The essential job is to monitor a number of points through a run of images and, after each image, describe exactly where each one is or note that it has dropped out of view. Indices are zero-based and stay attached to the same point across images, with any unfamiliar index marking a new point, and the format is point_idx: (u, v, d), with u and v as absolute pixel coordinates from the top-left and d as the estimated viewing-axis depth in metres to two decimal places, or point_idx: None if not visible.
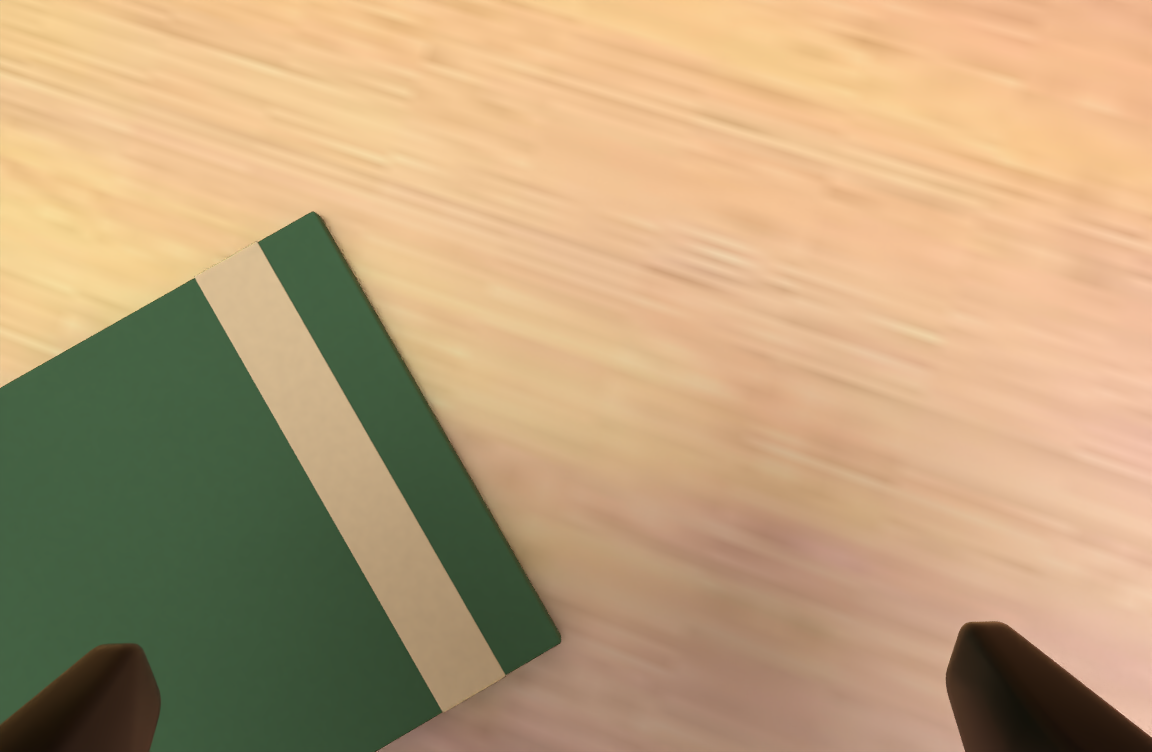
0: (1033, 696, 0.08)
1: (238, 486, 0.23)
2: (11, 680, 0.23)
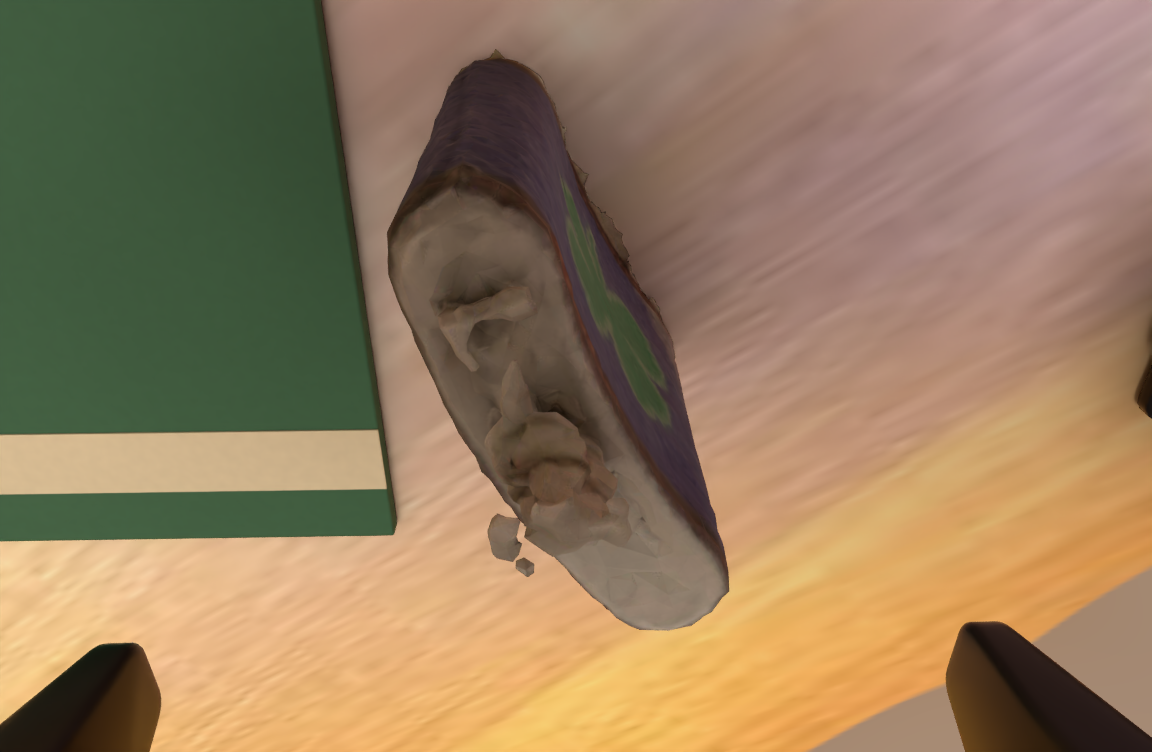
0: (1033, 696, 0.08)
1: None
2: (96, 348, 0.21)
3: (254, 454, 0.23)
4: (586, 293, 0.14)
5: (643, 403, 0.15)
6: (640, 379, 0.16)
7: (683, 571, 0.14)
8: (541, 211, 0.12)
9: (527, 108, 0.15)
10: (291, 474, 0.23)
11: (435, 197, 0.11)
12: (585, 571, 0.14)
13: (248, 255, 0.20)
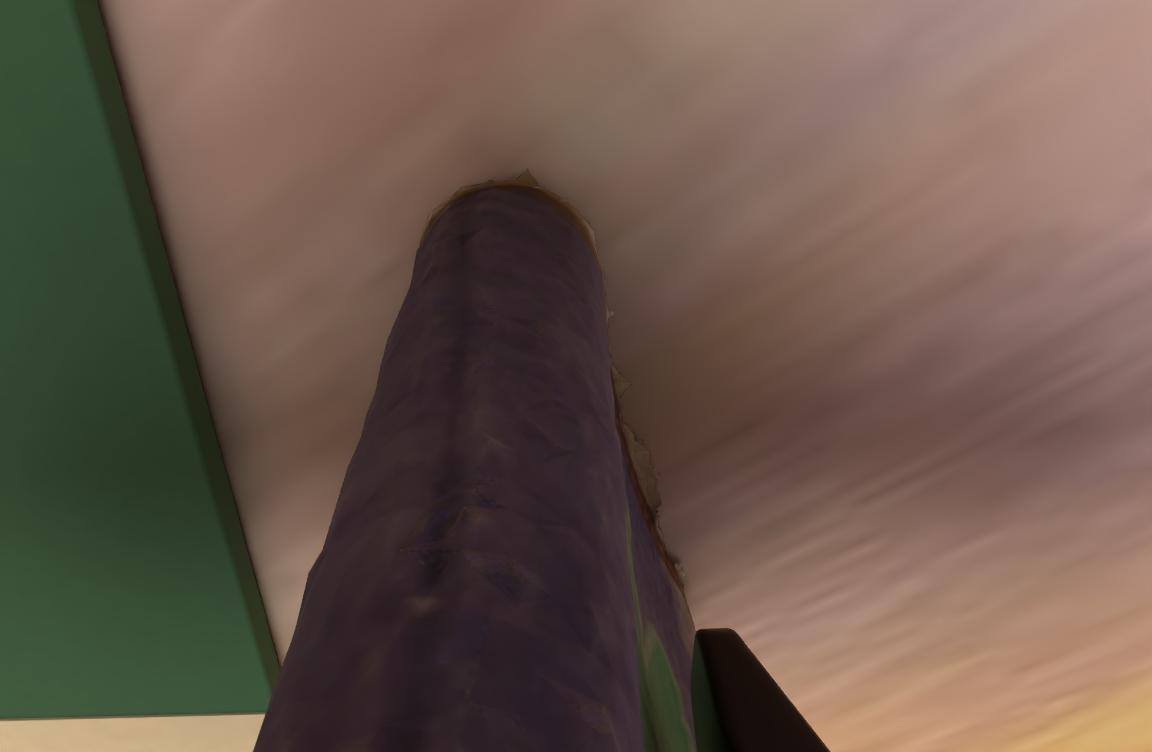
0: (725, 704, 0.08)
1: None
2: None
3: (89, 746, 0.15)
4: None
5: None
6: None
7: None
8: None
9: (586, 354, 0.08)
10: None
11: None
12: None
13: (40, 488, 0.12)
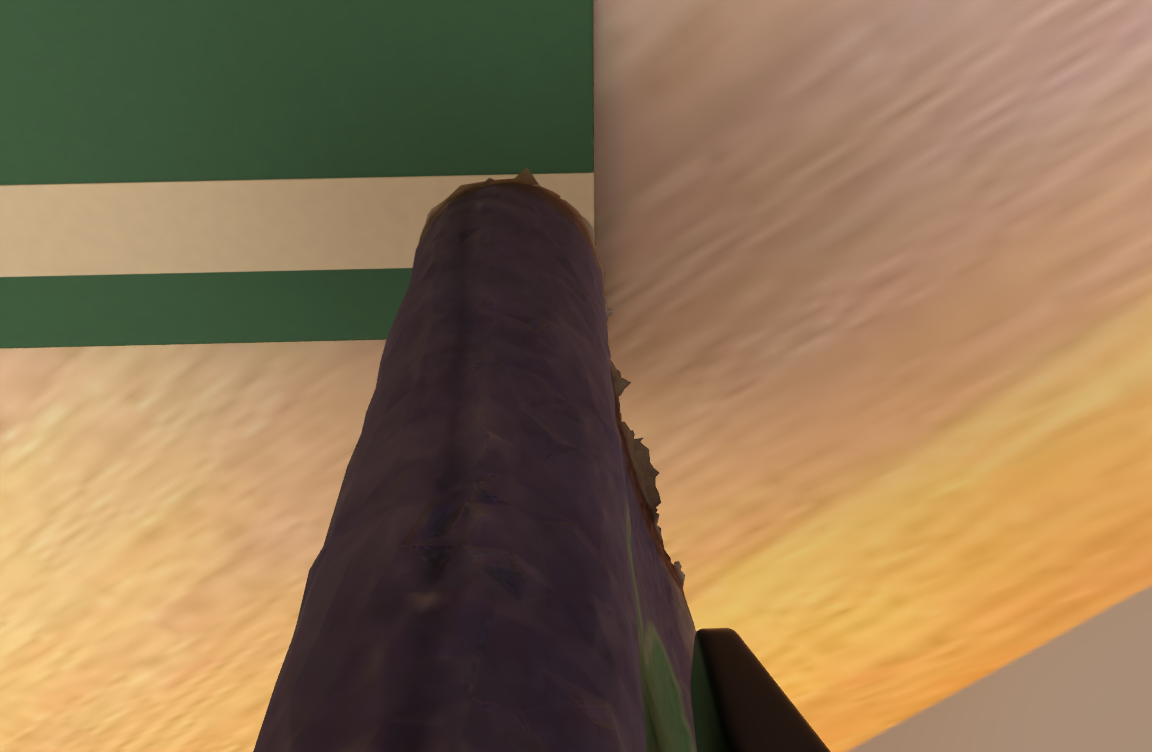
0: (725, 704, 0.08)
1: None
2: (234, 45, 0.16)
3: (428, 212, 0.18)
4: None
5: None
6: None
7: None
8: None
9: (586, 351, 0.08)
10: None
11: None
12: None
13: None
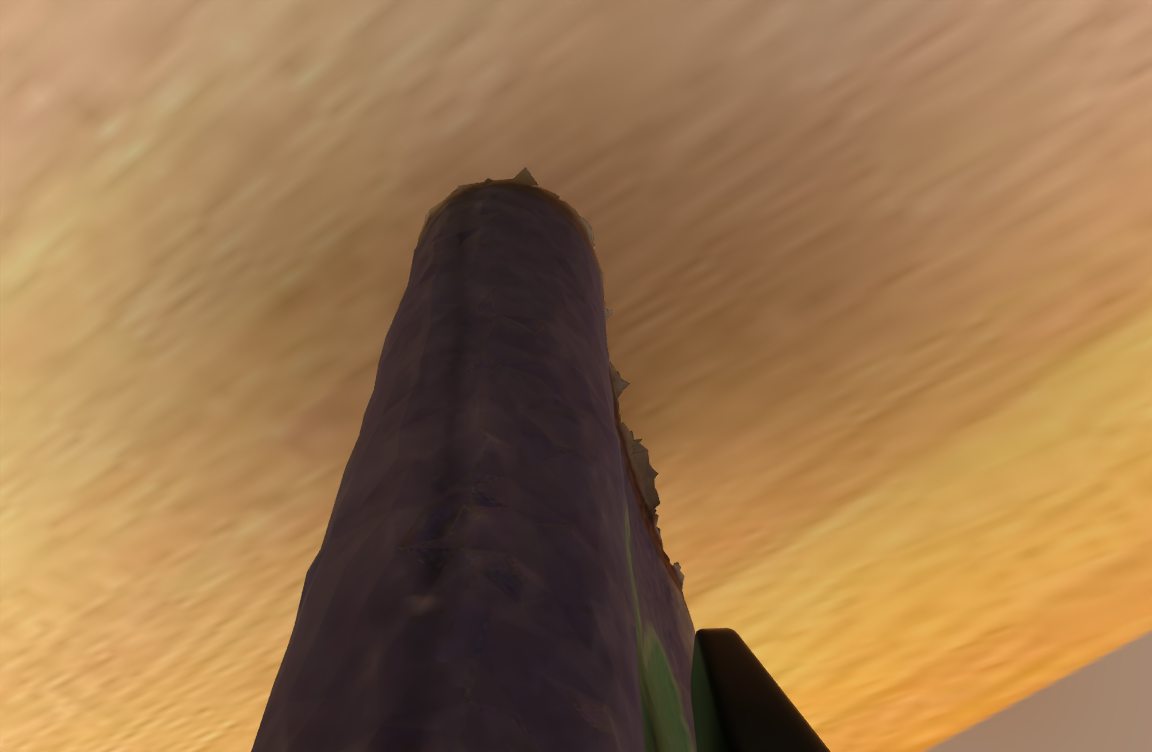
0: (725, 704, 0.08)
1: None
2: None
3: None
4: None
5: None
6: None
7: None
8: None
9: (585, 352, 0.08)
10: None
11: None
12: None
13: None
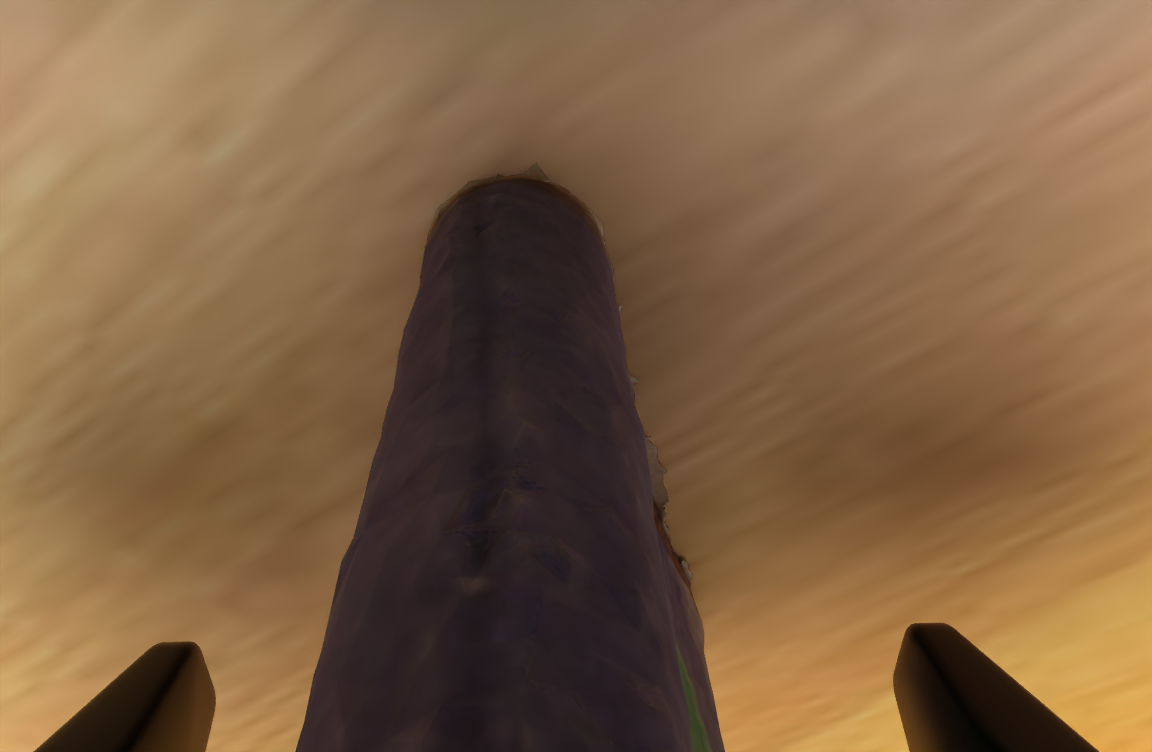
0: (970, 698, 0.08)
1: None
2: None
3: None
4: None
5: None
6: None
7: None
8: None
9: (607, 343, 0.08)
10: None
11: None
12: None
13: None
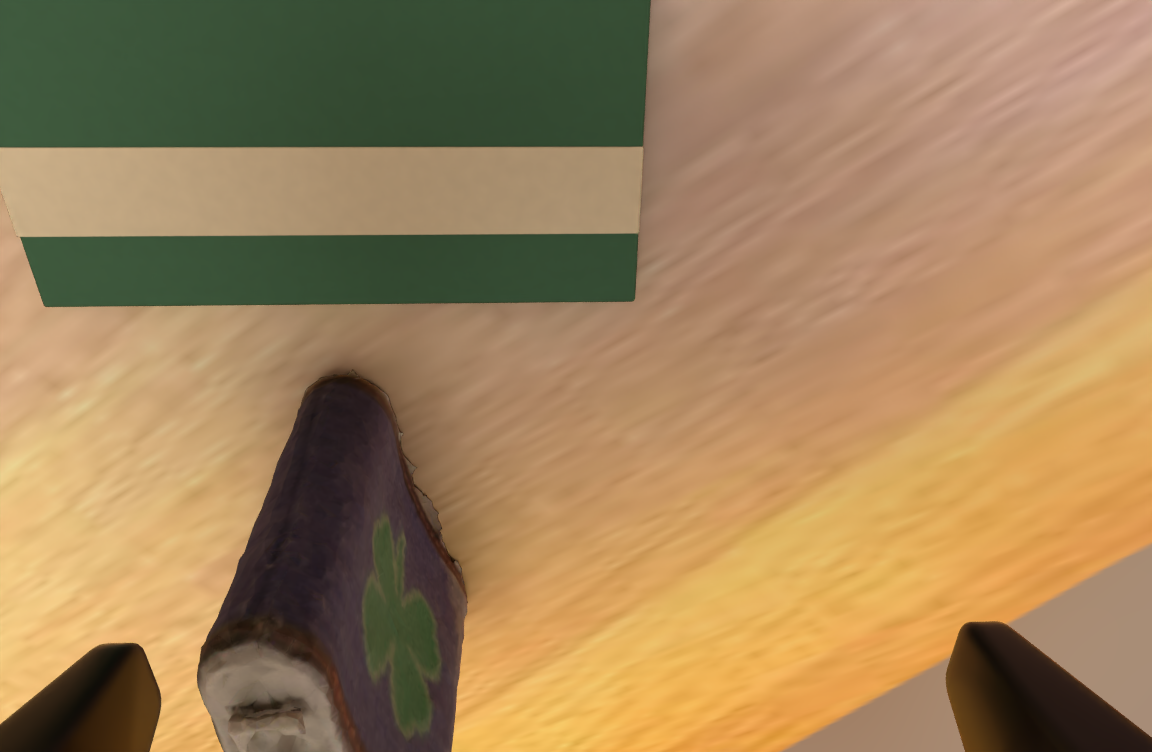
0: (1033, 696, 0.08)
1: None
2: (314, 18, 0.17)
3: (487, 181, 0.19)
4: (367, 655, 0.18)
5: (405, 724, 0.19)
6: (411, 690, 0.20)
7: None
8: (326, 646, 0.15)
9: (356, 472, 0.19)
10: (527, 210, 0.19)
11: (241, 645, 0.14)
12: None
13: None
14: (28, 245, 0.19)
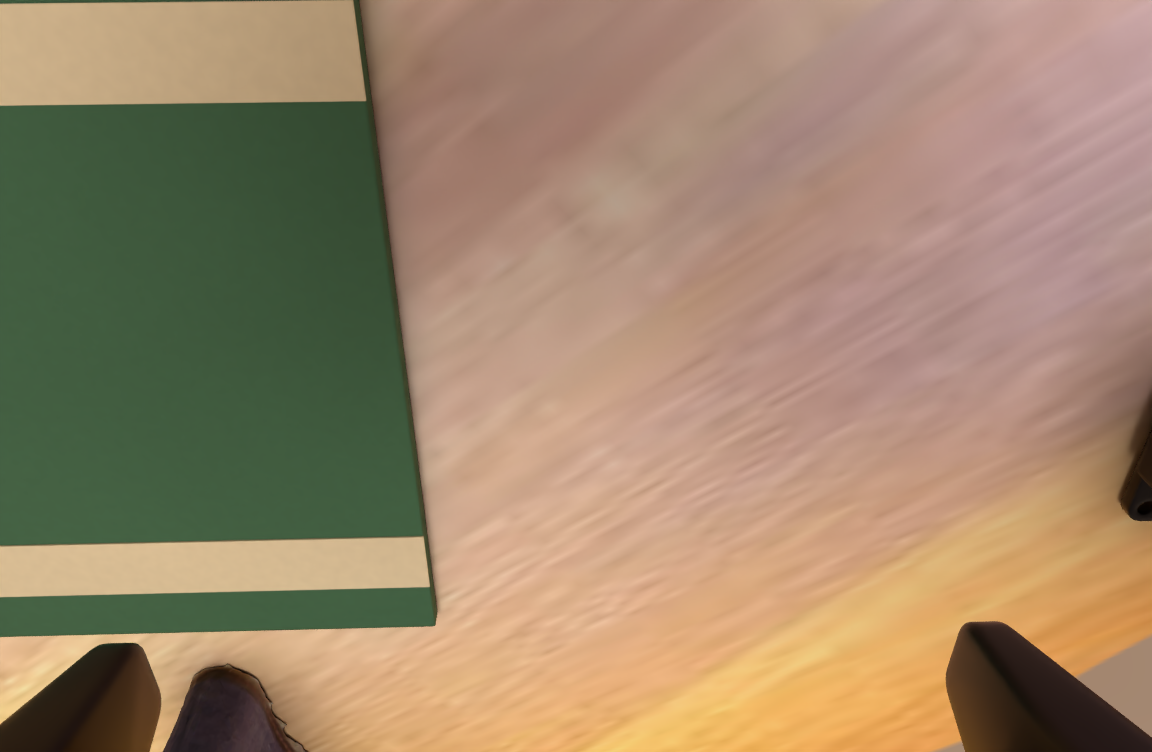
0: (1033, 696, 0.08)
1: (8, 188, 0.19)
2: (167, 470, 0.23)
3: (308, 559, 0.25)
4: None
5: None
6: None
7: None
8: None
9: None
10: (342, 575, 0.25)
11: None
12: None
13: (309, 391, 0.22)
14: None
